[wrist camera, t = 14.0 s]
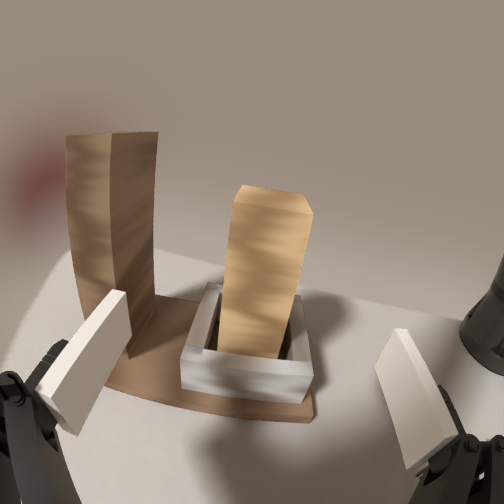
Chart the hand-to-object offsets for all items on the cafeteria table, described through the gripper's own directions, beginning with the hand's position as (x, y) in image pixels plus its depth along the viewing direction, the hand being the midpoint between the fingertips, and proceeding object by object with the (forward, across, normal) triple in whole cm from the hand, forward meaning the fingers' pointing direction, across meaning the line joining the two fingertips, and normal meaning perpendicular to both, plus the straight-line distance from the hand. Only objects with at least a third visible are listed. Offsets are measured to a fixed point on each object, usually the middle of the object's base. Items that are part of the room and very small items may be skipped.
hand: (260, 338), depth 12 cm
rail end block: (+10, 0, -11) cm, 14 cm away
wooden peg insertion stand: (+10, -4, -12) cm, 16 cm away
